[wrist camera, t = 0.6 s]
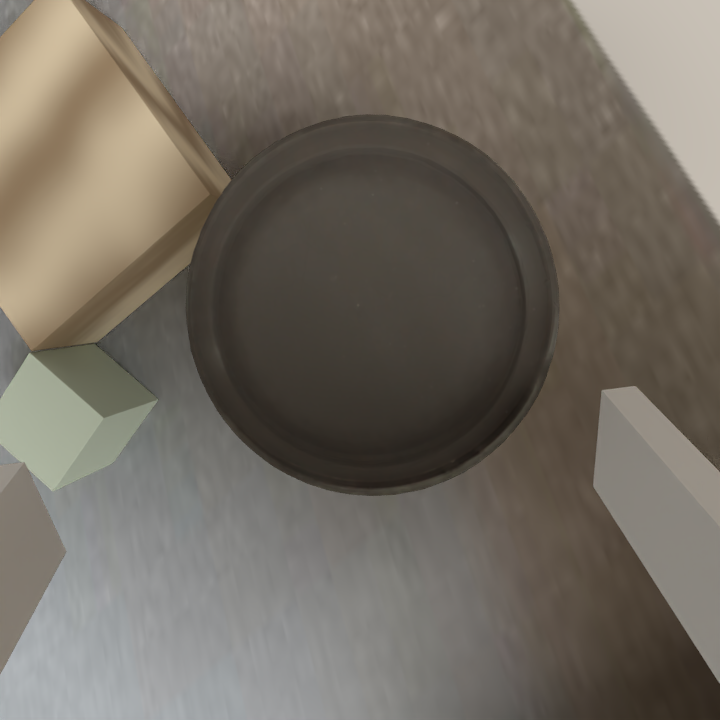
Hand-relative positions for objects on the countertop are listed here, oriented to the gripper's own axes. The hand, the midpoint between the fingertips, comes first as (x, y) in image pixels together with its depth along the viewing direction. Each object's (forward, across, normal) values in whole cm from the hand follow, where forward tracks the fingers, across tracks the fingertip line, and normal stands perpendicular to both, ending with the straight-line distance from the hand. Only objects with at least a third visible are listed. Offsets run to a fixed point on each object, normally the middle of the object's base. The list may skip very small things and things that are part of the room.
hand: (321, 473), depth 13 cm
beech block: (+22, +11, -4) cm, 25 cm away
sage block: (+19, +14, +8) cm, 25 cm away
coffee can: (+17, -4, +3) cm, 17 cm away
